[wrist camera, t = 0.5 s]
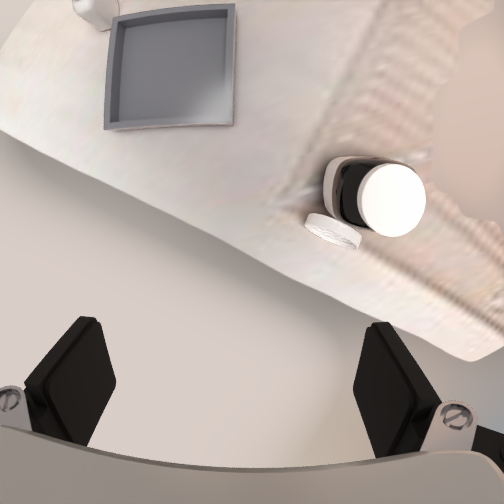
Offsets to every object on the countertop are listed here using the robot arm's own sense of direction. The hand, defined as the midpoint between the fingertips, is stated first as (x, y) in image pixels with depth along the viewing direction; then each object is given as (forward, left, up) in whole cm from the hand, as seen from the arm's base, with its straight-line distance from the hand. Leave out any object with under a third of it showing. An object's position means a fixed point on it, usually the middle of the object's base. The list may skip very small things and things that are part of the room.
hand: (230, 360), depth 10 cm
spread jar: (-1, +13, -30) cm, 33 cm away
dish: (-17, -9, -30) cm, 36 cm away
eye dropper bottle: (-27, -19, -30) cm, 45 cm away
